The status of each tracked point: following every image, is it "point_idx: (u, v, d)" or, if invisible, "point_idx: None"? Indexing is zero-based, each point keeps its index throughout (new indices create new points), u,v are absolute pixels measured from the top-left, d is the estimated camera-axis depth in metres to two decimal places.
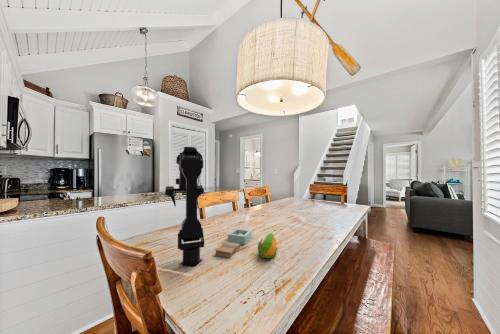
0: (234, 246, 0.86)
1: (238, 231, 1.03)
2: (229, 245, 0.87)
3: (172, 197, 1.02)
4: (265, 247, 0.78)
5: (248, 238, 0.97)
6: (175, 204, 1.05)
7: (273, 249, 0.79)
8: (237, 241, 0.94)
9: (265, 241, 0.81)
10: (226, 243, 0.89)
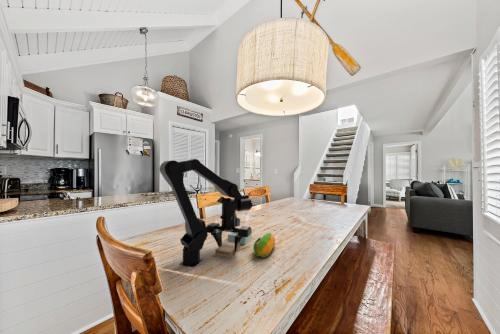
0: (234, 246, 0.86)
1: None
2: (229, 245, 0.87)
3: (214, 236, 0.84)
4: (259, 246, 0.79)
5: (248, 238, 0.97)
6: (219, 246, 0.86)
7: (268, 248, 0.80)
8: None
9: (260, 240, 0.82)
10: (226, 243, 0.89)
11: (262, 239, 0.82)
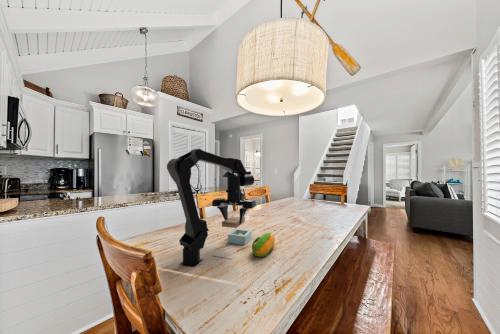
0: (239, 219, 0.91)
1: (238, 231, 1.03)
2: (234, 218, 0.91)
3: (220, 209, 0.89)
4: (257, 245, 0.80)
5: (248, 238, 0.97)
6: (225, 219, 0.90)
7: (266, 248, 0.80)
8: (237, 241, 0.94)
9: (259, 240, 0.82)
10: (232, 217, 0.94)
11: (260, 239, 0.83)
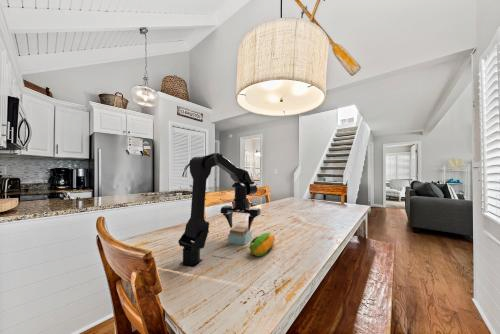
0: (245, 228, 0.99)
1: None
2: (240, 227, 1.00)
3: (226, 216, 0.98)
4: (254, 245, 0.80)
5: (248, 238, 0.97)
6: (230, 225, 0.99)
7: (263, 248, 0.81)
8: (237, 241, 0.94)
9: (256, 239, 0.83)
10: (238, 225, 1.03)
11: (258, 238, 0.83)
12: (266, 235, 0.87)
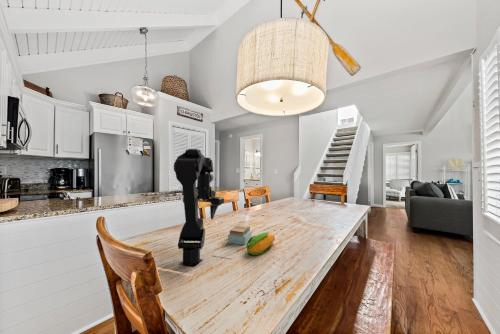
0: (245, 228, 0.99)
1: None
2: (240, 227, 1.00)
3: None
4: (250, 243, 0.82)
5: (248, 238, 0.97)
6: None
7: (259, 247, 0.82)
8: (237, 241, 0.94)
9: (253, 238, 0.84)
10: (238, 225, 1.03)
11: (255, 237, 0.84)
12: (264, 234, 0.88)
